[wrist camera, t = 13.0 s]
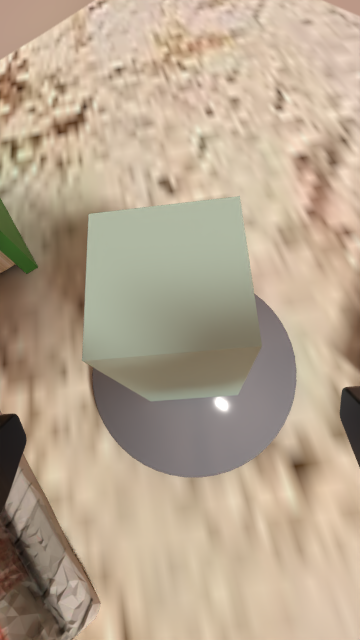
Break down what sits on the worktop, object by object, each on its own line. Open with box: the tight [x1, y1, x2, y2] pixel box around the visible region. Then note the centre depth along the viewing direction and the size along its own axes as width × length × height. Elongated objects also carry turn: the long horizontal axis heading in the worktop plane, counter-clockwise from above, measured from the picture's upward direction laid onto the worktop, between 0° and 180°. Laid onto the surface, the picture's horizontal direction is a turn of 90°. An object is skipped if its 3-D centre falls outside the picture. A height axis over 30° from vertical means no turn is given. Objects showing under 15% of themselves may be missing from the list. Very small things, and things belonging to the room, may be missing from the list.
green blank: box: [82, 196, 262, 401], centre depth 15 cm, size 5×5×10 cm
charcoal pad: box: [92, 294, 296, 477], centre depth 20 cm, size 12×12×1 cm
